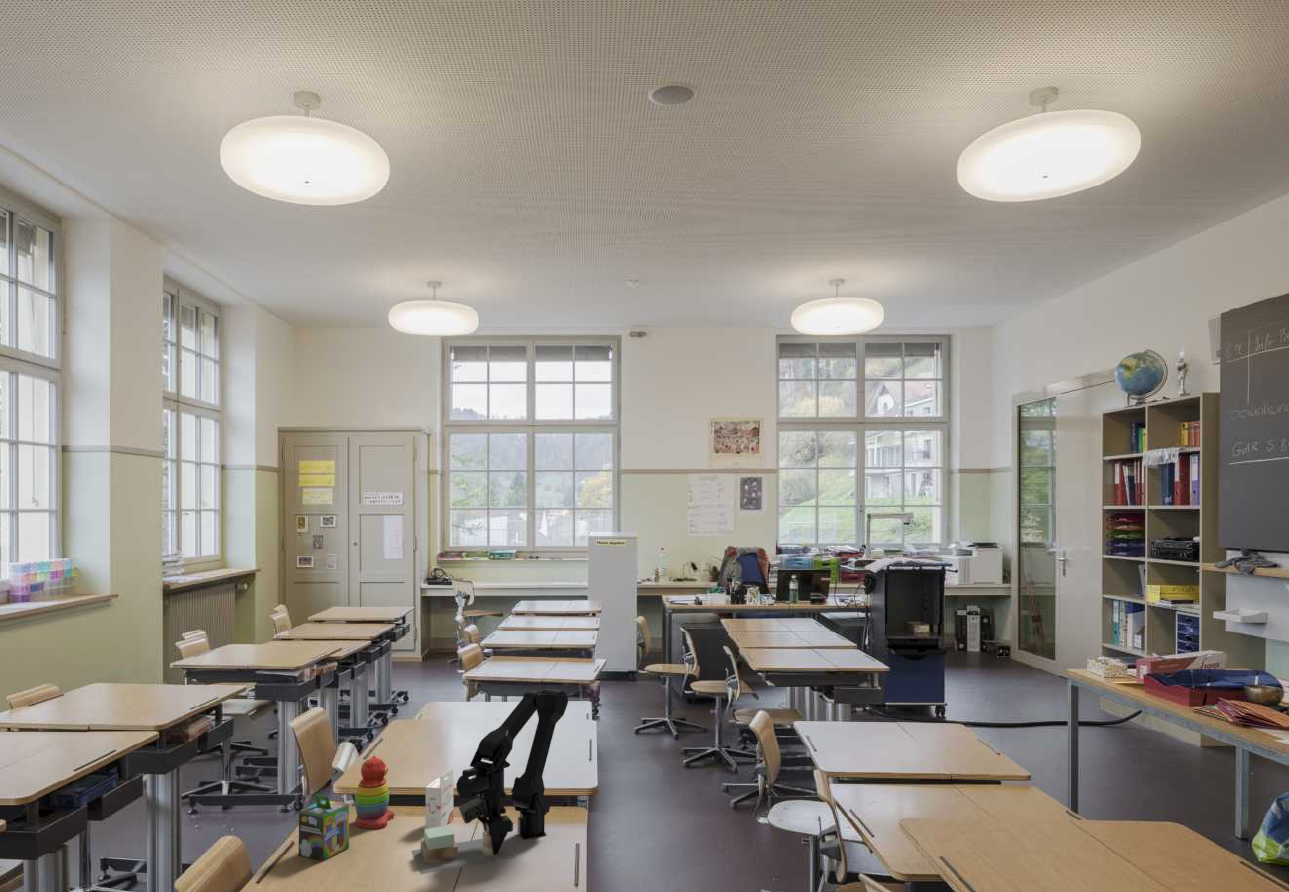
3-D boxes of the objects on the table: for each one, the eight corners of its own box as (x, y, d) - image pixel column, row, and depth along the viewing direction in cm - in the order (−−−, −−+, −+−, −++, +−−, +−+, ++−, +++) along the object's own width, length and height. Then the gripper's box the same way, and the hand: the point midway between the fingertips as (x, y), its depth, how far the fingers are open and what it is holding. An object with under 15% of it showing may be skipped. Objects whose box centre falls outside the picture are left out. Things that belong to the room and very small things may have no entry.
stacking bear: (384, 829, 230) (385, 764, 231) (348, 829, 230) (349, 764, 231) (396, 814, 240) (397, 752, 242) (362, 814, 241) (363, 752, 242)
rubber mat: (501, 836, 224) (501, 835, 224) (516, 858, 210) (516, 856, 210) (411, 852, 214) (411, 850, 214) (420, 875, 201) (420, 874, 201)
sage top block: (449, 836, 216) (449, 825, 216) (454, 846, 210) (454, 834, 210) (424, 841, 213) (424, 829, 213) (428, 850, 207) (428, 838, 207)
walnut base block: (451, 847, 217) (451, 835, 217) (457, 858, 209) (457, 846, 210) (420, 852, 213) (420, 840, 214) (425, 864, 206) (425, 852, 206)
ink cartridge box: (437, 818, 238) (438, 766, 239) (453, 819, 237) (454, 767, 238) (424, 829, 229) (425, 776, 230) (440, 831, 228) (441, 777, 229)
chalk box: (349, 848, 217) (351, 791, 218) (323, 862, 209) (324, 802, 210) (324, 842, 221) (325, 786, 222) (296, 855, 213) (298, 797, 214)
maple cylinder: (499, 847, 216) (499, 827, 217) (504, 854, 212) (504, 834, 212) (480, 850, 214) (480, 831, 215) (484, 858, 210) (485, 838, 210)
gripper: (454, 781, 219) (454, 841, 218) (469, 804, 202) (469, 869, 201) (495, 775, 224) (495, 834, 223) (513, 797, 207) (513, 861, 206)
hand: (492, 849), depth 213 cm, fingers open, 6 cm apart
